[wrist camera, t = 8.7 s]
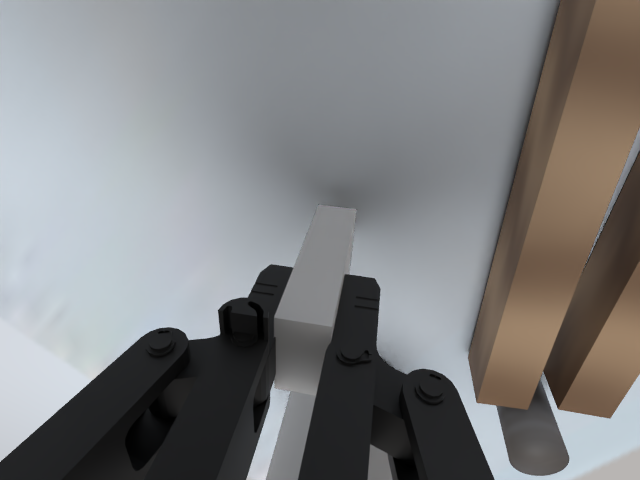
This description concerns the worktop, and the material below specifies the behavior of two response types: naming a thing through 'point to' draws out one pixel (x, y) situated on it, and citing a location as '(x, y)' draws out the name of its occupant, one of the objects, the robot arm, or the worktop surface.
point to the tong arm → (558, 193)
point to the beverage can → (294, 439)
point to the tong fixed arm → (587, 344)
